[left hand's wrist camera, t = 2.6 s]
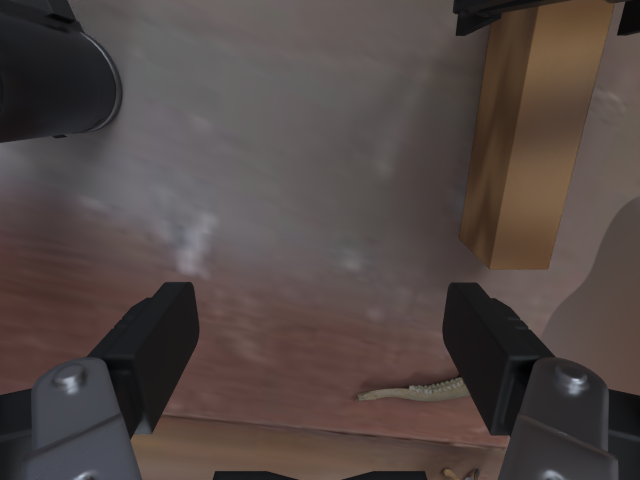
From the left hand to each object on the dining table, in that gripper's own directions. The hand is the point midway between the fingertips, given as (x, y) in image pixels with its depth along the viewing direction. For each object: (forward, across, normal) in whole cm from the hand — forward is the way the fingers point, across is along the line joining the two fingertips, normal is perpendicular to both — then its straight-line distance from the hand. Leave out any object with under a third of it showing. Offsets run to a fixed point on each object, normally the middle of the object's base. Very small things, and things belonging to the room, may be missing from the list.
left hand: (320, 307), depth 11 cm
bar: (+29, -19, -4) cm, 34 cm away
